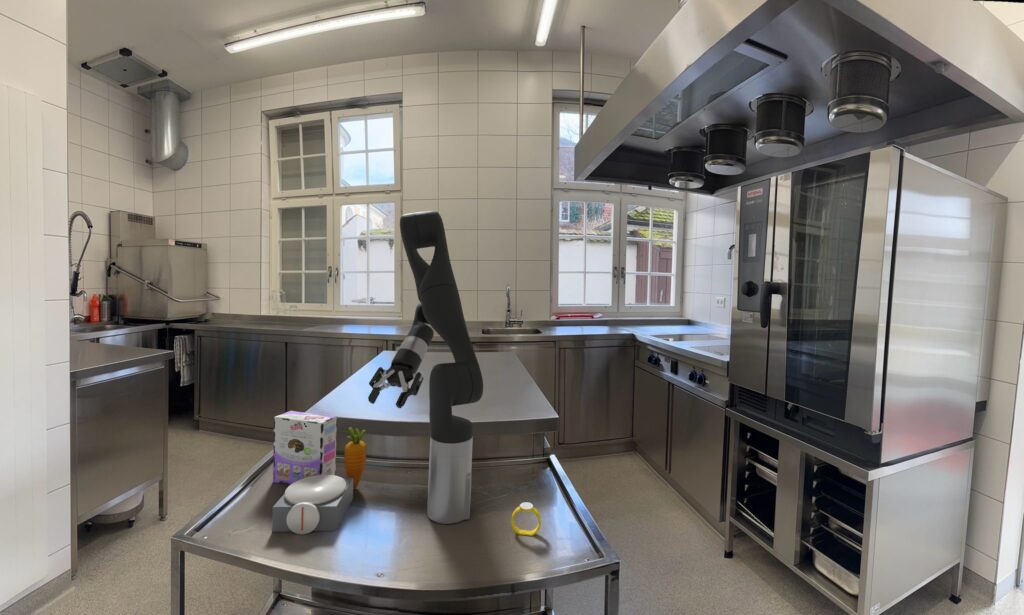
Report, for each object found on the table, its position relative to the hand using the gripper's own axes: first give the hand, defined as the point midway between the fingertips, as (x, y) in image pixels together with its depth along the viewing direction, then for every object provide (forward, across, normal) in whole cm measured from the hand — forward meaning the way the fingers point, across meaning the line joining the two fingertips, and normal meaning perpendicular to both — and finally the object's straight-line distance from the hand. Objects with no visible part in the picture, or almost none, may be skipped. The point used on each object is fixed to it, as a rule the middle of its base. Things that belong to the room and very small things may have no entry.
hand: (384, 404), depth 107 cm
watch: (+21, +43, +5) cm, 48 cm away
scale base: (+29, 0, -3) cm, 29 cm away
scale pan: (+25, 0, -7) cm, 26 cm away
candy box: (+22, -13, +4) cm, 26 cm away
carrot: (+20, 0, +5) cm, 21 cm away
